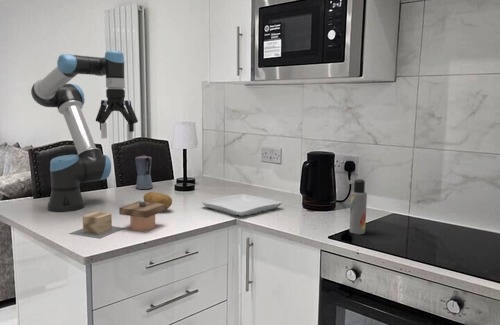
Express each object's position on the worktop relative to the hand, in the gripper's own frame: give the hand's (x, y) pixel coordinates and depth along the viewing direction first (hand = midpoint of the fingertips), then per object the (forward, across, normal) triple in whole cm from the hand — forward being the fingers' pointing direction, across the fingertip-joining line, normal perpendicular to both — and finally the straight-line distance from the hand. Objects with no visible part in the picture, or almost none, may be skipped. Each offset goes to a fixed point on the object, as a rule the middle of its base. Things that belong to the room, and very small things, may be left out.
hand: (116, 139), depth 182 cm
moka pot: (+32, -20, +47) cm, 60 cm away
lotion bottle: (+32, +101, +11) cm, 106 cm away
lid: (+26, +25, -17) cm, 40 cm away
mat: (+32, +13, -28) cm, 44 cm away
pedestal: (+31, +13, -28) cm, 44 cm away
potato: (+32, +15, +8) cm, 36 cm away
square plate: (+32, +47, +27) cm, 63 cm away
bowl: (+32, +25, -17) cm, 44 cm away
